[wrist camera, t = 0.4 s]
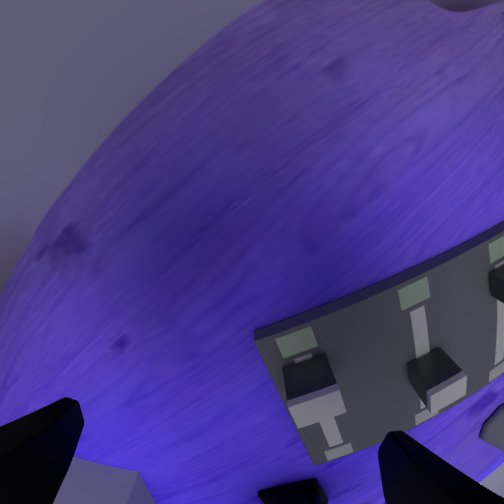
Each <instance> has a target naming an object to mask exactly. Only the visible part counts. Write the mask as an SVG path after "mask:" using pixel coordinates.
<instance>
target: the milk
mask: <svg viewBox="0 0 504 504" xmlns="http://www.w3.org/2000/svg"><path fill="white" fill-rule="evenodd" d="M53 504H156V503H155V501H154V499H153V498H152V496H151V494H150V492H149V491H148V489H147V487H146V485H145V483H144V481H143V480H142V478H141V476H140V474H139V472H138V471H132V470H126V469H121V468H116V467H111V466H107V465H102V464H98V463H94V462H90V461H86V460H82V459H79V458H75V457H73V459H72V462H71V465H70V467H69V470H68V472H67V474H66V476H65V478H64V480H63V483H62V485H61V487H60V489H59V491H58V494H57V496H56V498H55V500H54V503H53Z"/></svg>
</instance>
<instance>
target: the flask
mask: <svg viewBox="0 0 504 504" xmlns="http://www.w3.org/2000/svg"><path fill="white" fill-rule="evenodd" d="M479 438H480V439H482V440H483V441H485V442H487V443H489V444H491V445H493V446H495V447H497V448H499V449H501V450H503V451H504V404H503V405H502V406H500V407H499V408H498V409H497V410H496V412H495V413H494V414H493V415H492V416H491V417H490V418H489V419H488V420H487V421H486V422H485V423H484V424H483V427H482V431H481V434H480V437H479Z"/></svg>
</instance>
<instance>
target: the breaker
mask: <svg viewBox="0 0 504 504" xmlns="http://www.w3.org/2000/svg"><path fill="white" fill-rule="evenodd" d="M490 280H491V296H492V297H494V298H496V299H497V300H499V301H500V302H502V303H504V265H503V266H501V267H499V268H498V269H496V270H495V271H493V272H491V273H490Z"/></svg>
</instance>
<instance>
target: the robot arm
mask: <svg viewBox="0 0 504 504" xmlns="http://www.w3.org/2000/svg"><path fill="white" fill-rule="evenodd" d="M83 427H84V418H83V415H82V411H81V408H80V404H79V402H78V401H77V400H74V399H71V398H68V397H65V398H62V399H60V400H58V401H56V402H54V403H52V404H50V405H47V406H45V407H43V408H41V409H39V410H37V411H34V412H32V413H30V414H28V415H26V416H23V417H21V418H19V419H17V420H14V421H12V422H10V423H8V424H5V425H3V426H1V427H0V504H53V503H54V500H55V498H56V496H57V494H58V491H59V489H60V487H61V485H62V483H63V480H64V478H65V476H66V474H67V472H68V470H69V467H70V465H71V462H72V459H73V456H74V453H75V450H76V447H77V444H78V441H79V438H80V435H81V433H82V430H83ZM378 460H379V466H380V472H381V479H382V486H383V493H384V497H385V502H386V504H504V498H503V497H501V496H499V495H497V494H496V493H494V492H492V491H491V490H489V489H487V488H486V487H484V486H483V485H480V484H479V483H478V482H476V481H475V480H473V479H472V478H470V477H468V476H467V475H465V474H464V473H462V472H461V471H459V470H458V469H456V468H455V467H453V466H452V465H450V464H449V463H447V462H446V461H445V460H443V459H442V458H440V457H439V456H437V455H436V454H434V453H433V452H431V451H430V450H429V449H427V448H426V447H424V446H423V445H421V444H420V443H419V442H417V441H416V440H414V439H413V438H412V437H410V436H409V435H407V434H406V433H405V432H403V431H401V430H396V431H390V432H388V433H387V434H386V436H385V438H384V440H383V442H382V444H381V446H380V447H379V450H378ZM258 497H259V498H260V499H261V500H262V501H263V502H264V503H265V504H327V503H328V499H327V497H326V495H325V494H324V492H323V490H322V488H321V486H320V485H319V483H318V481H317V480H316V479H310V480H307V481H303V482H299V483H295V484H291V485H287V486H282V487H278V488H273V489H268V490H263V491H259V492H258Z"/></svg>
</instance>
